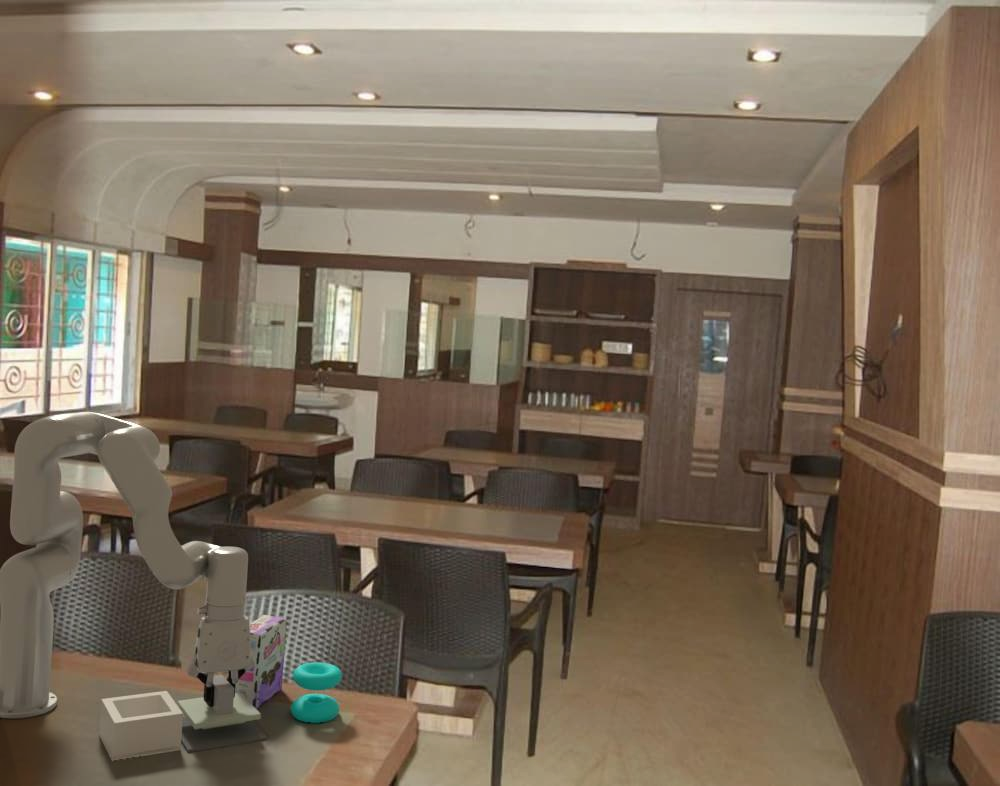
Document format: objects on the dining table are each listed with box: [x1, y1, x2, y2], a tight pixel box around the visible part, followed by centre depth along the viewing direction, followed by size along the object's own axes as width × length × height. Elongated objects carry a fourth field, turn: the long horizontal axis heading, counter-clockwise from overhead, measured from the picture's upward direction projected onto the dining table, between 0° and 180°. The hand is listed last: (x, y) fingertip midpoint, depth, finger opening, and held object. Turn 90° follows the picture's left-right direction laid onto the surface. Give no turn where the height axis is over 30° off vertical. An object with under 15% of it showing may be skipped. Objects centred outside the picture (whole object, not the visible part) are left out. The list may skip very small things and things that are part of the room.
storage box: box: [98, 690, 184, 762], centre depth 176 cm, size 12×12×7 cm
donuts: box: [290, 661, 343, 724], centre depth 195 cm, size 10×10×10 cm
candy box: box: [235, 614, 288, 710], centre depth 201 cm, size 14×6×16 cm, turn 168°
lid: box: [176, 674, 262, 729], centre depth 183 cm, size 13×13×7 cm
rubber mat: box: [181, 716, 268, 753], centre depth 184 cm, size 15×15×1 cm
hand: (218, 702), depth 184 cm, fingers closed on lid, 3 cm apart
